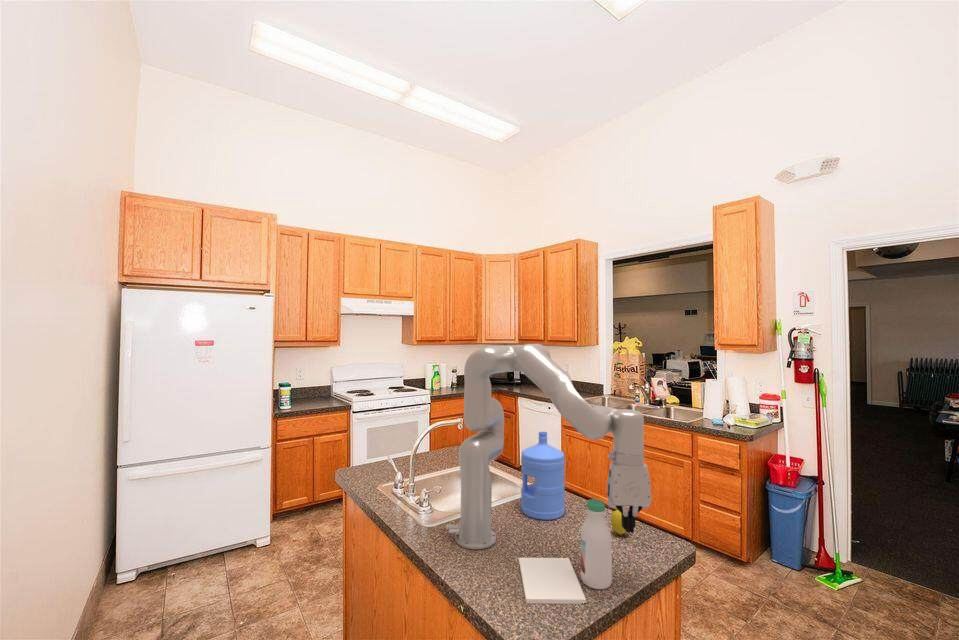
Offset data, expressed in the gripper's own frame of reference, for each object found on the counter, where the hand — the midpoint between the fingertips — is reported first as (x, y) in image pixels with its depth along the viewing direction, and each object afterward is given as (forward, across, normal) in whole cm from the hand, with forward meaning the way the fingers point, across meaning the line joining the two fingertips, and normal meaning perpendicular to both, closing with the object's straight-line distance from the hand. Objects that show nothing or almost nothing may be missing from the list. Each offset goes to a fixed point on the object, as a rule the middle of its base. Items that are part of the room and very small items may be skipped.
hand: (628, 530), depth 105 cm
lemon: (+13, +7, +25) cm, 29 cm away
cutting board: (+13, -20, 0) cm, 24 cm away
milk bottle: (+13, -8, 0) cm, 16 cm away
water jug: (+13, -15, +42) cm, 47 cm away
